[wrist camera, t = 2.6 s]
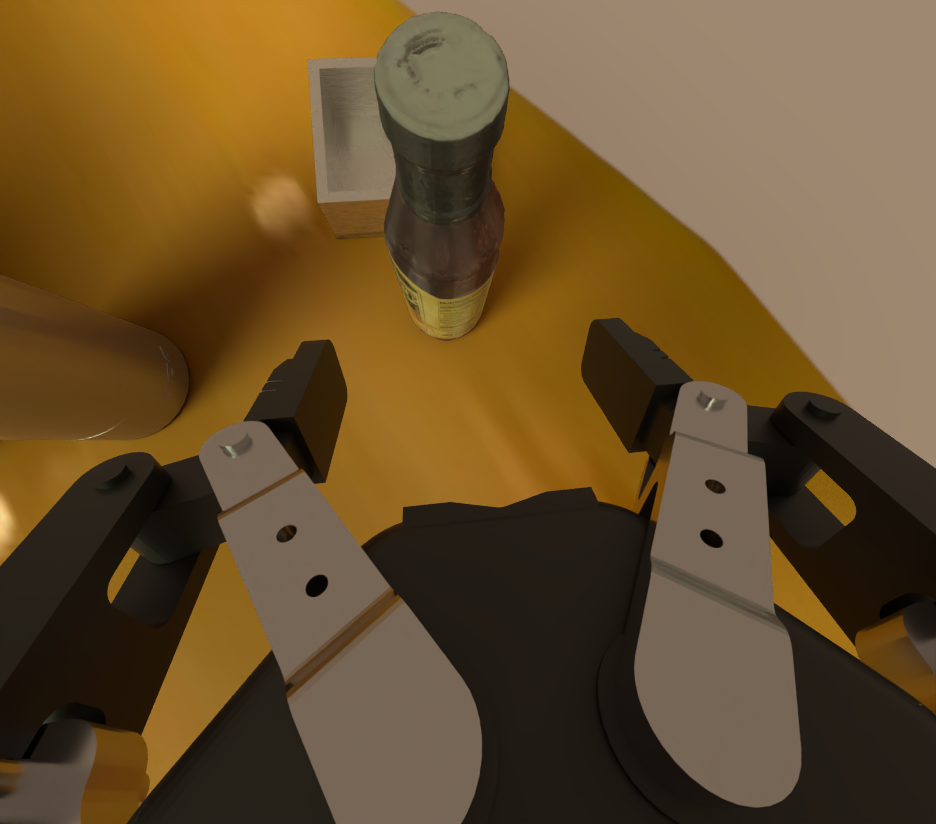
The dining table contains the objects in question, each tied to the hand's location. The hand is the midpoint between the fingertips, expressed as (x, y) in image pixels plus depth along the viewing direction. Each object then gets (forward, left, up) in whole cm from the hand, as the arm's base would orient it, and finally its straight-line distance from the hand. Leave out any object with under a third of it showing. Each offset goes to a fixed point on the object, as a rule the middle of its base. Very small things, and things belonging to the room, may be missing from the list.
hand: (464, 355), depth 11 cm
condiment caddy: (-3, +21, -18) cm, 28 cm away
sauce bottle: (0, +8, -18) cm, 20 cm away
